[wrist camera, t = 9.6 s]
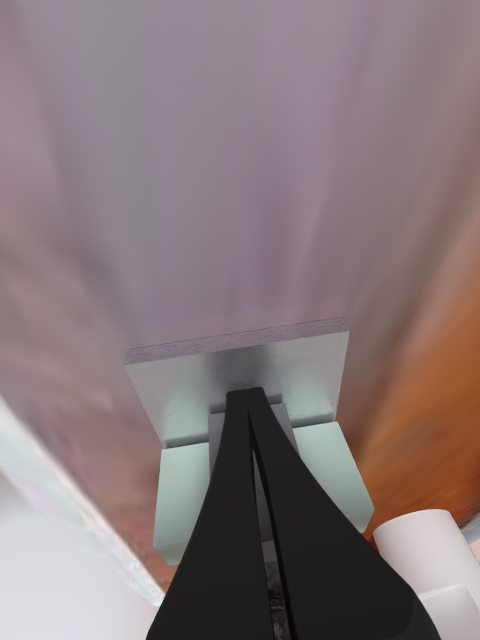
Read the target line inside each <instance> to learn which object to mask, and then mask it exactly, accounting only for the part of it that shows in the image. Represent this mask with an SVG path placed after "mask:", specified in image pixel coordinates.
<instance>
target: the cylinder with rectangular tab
mask: <svg viewBox="0 0 480 640" xmlns="http://www.w3.org/2000/svg"><path fill="white" fill-rule="evenodd" d="M373 537H374V540H375V542H376V545H377V547H378V550H379V552H380V555H381V556H382V557H383V559H384V560H385V561H386V562H387V563H388V564H389V565H390V566H391V567H392V568H393V569H394V570H395V571H396V572H397V573H398V574H399V575H400V576H401V577H402V578H403V579H404V580H405V581H406V582H407V583H408V584H409V585H410V586H411V588H412V589H413V590H414V592H415V593H416V595H417V596H418V598H419V599H420V601H421V602H422V604H423V605H424V607H425V609H426V610H427V612H428V614H429V615H430V617H431V619H432V621H433V623H434V624H435V626H436V628H437V630H438V633H439V635H440V638H441V640H480V562H479V561H478V559H477V557H476V556H475V554H474V553H473V551H472V549H471V548H470V546H469V544H468V543H467V541H466V539H465V538H464V536H463V534H462V533H461V531H460V529H459V528H458V526H457V524H456V523H455V521H454V519H453V518H452V516H451V514H450V513H449V512H448V511H446V510H439V509H433V510H424V511H417V512H413V513H409V514H406V515H403V516H400V517H397V518H394V519H392V520H390V521H388V522H386V523H384V524H382V525H381V526H379V527H378V528H377V529H376V530H375V531H374V532H373Z"/></svg>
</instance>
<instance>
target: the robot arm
mask: <svg viewBox="0 0 480 640" xmlns="http://www.w3.org/2000/svg"><path fill="white" fill-rule="evenodd" d="M253 450H254V454H255V458H256V462H257V466H258V470H259V474H260V478H261V482H262V486H263V490H264V494H265V499H266V503H267V507H268V511H269V516H270V521H271V527H272V533H273V539H274V545H275V551H276V557H277V564H278V570H279V576H280V582H281V588H282V594H283V600H284V606H285V612H286V619H287V625H288V631H289V637H290V640H441V638H440V635H439V633H438V630H437V628H436V626H435V624H434V623H433V621H432V619H431V617H430V615H429V614H428V612H427V610H426V609H425V607H424V605H423V604H422V602H421V601H420V599H419V598H418V596H417V595H416V593H415V592H414V590H413V589H412V588H411V586H410V585H409V584H408V583H407V582H406V581H405V580H404V579H403V578H402V577H401V576H400V575H399V574H398V573H397V572H396V571H395V570H394V569H393V568H392V567H391V566H390V565H389V564H388V563H387V562H386V561H385V560H384V559H383V557H382V556H381V555H380V554H379V553H378V552H377V551H376V550H375V549H374V548H373V547H372V546H371V545H370V543H369V542H368V541H367V540H366V539H365V538H364V537H363V536H362V535H361V534H360V532H359V531H358V530H357V529H356V528H355V527H354V525H353V524H352V523H351V522H350V521H349V520H348V518H347V517H346V516H345V515H344V514H343V513H342V511H341V510H340V509H339V508H338V507H337V506H336V504H335V503H334V502H333V501H332V499H331V498H330V497H329V496H328V494H327V493H326V492H325V491H324V489H323V488H322V487H321V485H320V484H319V483H318V481H317V480H316V479H315V477H314V476H313V475H312V473H311V472H310V471H309V469H308V468H307V466H306V465H305V463H304V462H303V461H302V459H301V458H300V456H299V455H298V453H297V452H296V450H295V448H294V447H293V445H292V444H291V442H290V441H289V439H288V437H287V436H286V434H285V432H284V430H283V429H282V427H281V425H280V424H279V422H278V420H277V418H276V416H275V414H274V412H273V410H272V408H271V406H270V404H269V402H268V399H267V397H266V394H265V392H264V389H263V388H262V387H254V388H248V389H241V390H235V391H229V392H228V393H226V409H225V418H224V424H223V430H222V435H221V440H220V445H219V449H218V454H217V457H216V461H215V465H214V469H213V473H212V476H211V480H210V483H209V486H208V489H207V493H206V496H205V499H204V502H203V505H202V508H201V510H200V513H199V516H198V519H197V521H196V524H195V527H194V529H193V532H192V535H191V537H190V540H189V542H188V545H187V547H186V550H185V552H184V554H183V557H182V559H181V561H180V564H179V566H178V568H177V571H176V573H175V575H174V578H173V580H172V582H171V585H170V587H169V589H168V591H167V593H166V595H165V597H164V600H163V602H162V604H161V606H160V608H159V611H158V612H157V614H156V616H155V619H154V621H153V623H152V625H151V627H150V629H149V631H148V634H147V637H146V640H275V633H274V626H273V620H272V613H271V606H270V599H269V592H268V585H267V578H266V571H265V564H264V557H263V550H262V543H261V536H260V529H259V522H258V513H257V500H256V486H255V471H254V457H253Z"/></svg>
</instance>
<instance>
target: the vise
mask: <svg viewBox="0 0 480 640" xmlns="http://www.w3.org/2000/svg"><path fill="white" fill-rule="evenodd" d="M349 332H350V331H349V329H348V327H347V326H346V324H345V323H344V321H343V320H342V318H334V319H327V320H321V321H314V322H307V323H301V324H294V325H288V326H281V327H274V328H268V329H261V330H255V331H248V332H241V333H235V334H228V335H222V336H215V337H208V338H202V339H195V340H189V341H182V342H175V343H169V344H162V345H156V346H149V347H142V348H136V349H129V350H127V354H126V358H125V361H124V365H123V366H124V368H125V370H126V372H127V374H128V376H129V378H130V380H131V382H132V384H133V386H134V388H135V390H136V392H137V394H138V396H139V398H140V400H141V402H142V404H143V406H144V408H145V410H146V412H147V414H148V417H149V419H150V421H151V423H152V425H153V427H154V429H155V431H156V433H157V435H158V437H159V439H160V441H161V443H162V445H163V447H164V449H170V448H176V447H182V446H188V445H194V444H200V443H207V442H209V436H208V415H211V414H217V413H223V412H225V409H226V393H228V392H229V391H235V390H241V389H248V388H254V387H262V388H263V389H264V392H265V394H266V397H267V399H268V402H269V404H270V405H273V404H280V403H285V404H286V408H287V411H288V415H289V418H290V422H291V425H292V429H293V428H299V427H306V426H312V425H318V424H324V423H330V422H335V416H336V410H337V404H338V398H339V392H340V386H341V380H342V374H343V368H344V362H345V356H346V350H347V344H348V338H349Z"/></svg>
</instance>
